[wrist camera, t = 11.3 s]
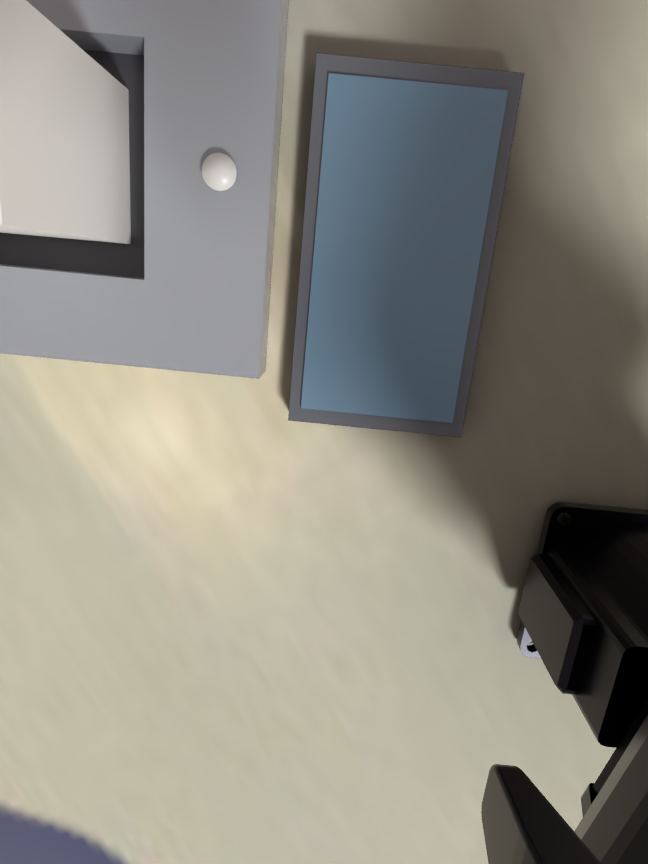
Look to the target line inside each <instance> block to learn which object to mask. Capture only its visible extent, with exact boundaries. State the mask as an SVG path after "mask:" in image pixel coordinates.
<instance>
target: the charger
mask: <svg viewBox="0 0 648 864" xmlns="http://www.w3.org/2000/svg"><path fill="white" fill-rule="evenodd" d="M0 233H10V234H21V235H32V236H43V237H55V238H66V239H77V240H88V241H100V242H111V243H122V244H131V219H130V155H129V91H128V89H127V88H126V87H125V86H124V85H122V84H121V83H120V82H119V81H118V80H117V79H116V78H114V77H113V76H112V75H111V74H110V73H109V72H108V71H106V70H105V69H104V68H103V67H102V66H101V65H100V64H98V63H97V62H96V61H95V60H94V59H93V58H92V57H90V56H89V55H88V54H87V53H86V52H85V51H84V50H82V49H81V48H80V47H79V46H78V45H77V44H76V43H74V42H73V41H72V40H71V39H70V38H69V37H68V36H66V35H65V34H64V33H63V32H62V31H61V30H60V29H58V28H57V27H56V26H55V25H54V24H53V23H52V22H50V21H49V20H48V19H47V18H46V17H45V16H44V15H42V14H41V13H40V12H39V11H38V10H37V9H36V8H34V7H33V6H32V5H31V4H30V3H29V2H28V1H26V0H0Z"/></svg>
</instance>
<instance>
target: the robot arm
mask: <svg viewBox="0 0 648 864" xmlns="http://www.w3.org/2000/svg"><path fill="white" fill-rule="evenodd" d="M561 513H567V516H566V517H565V519H563V520H561V521H557V517H558V516H559V515H560V514H561ZM518 614H519V617H520V618H521V620H522V621H521V625H520V629H519V634H518V638H517V643H518V645H519V648H520V650H521V652H522V653H523V654H524V655H525V656H527V657H531V658H541V659H542V660H543V662H544V664H545V666H546V668H547V670H548V672H549V674H550V676H551V678H552V680H553V681H554V683H555V685H556V686H557V688H558V689H559V690H560V691H561V692H562V693H564V694H572V695H573V697H574V699H575V700H576V702H577V704H578V706H579V708H580V709H581V711H582V713H583V715H584V717H585V718H586V720H587V722H588V724H589V726H590V727H591V729H592V731H593V733H594V735H595V737H596V738H597V740H598V742H599V743H600V744H601V745H603V746H606V747H616V750H615V752H614V753H613V755H612V756H611V758H610V760H609V761H608V763H607V764H606V766H605V768H604V769H603V771H602V772H601V774H600V776H599V777H598V779H597V780H596V782H595V784H594V783H591V784H589V785H588V787H587V789H586V790H585V792H584V794H583V795H582V797H581V803H582V812H583V819H582V820H581V822H580V823H579V825H578V827H577V828H576V830H575V832H574V831H573V830H572V829H571V827H570V826H569V825H568V824H567V823H566V822H565V820H564V819H563V818H562V817H561V816H560V815H559V813H558V812H557V811H556V810H555V809H554V807H553V806H552V805H551V804H550V803H549V802H548V800H547V799H546V798H545V797H544V796H543V795H542V793H541V792H540V791H539V790H538V789H537V787H536V786H535V785H534V784H533V783H532V782H531V780H530V779H529V778H528V777H527V776H526V775H525V773H524V772H523V771H522V770H521V769H519V768H518V767H516V766H509V765H499V764H495V765H493V766H492V767H491V768H490V771H489V775H488V779H487V784H486V788H485V792H484V797H483V801H482V823H483V829H484V836H485V842H486V849H487V855H488V862H489V864H648V511H647V510H637V509H627V508H617V507H607V506H596V505H586V504H576V503H566V502H558V503H555V504H553V505H552V506H550V507H549V508H548V510H547V513H546V516H545V521H544V525H543V529H542V534H541V538H540V542H539V547H538V551H537V553H536V554H535V555H534V556H533V557H532V558H531V559H530V562H529V567H528V571H527V575H526V580H525V584H524V589H523V593H522V597H521V602H520V606H519V611H518ZM532 641H533V643H534V644H533V645H529V646H528V643H530V642H532Z"/></svg>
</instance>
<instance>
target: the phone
mask: <svg viewBox="0 0 648 864" xmlns="http://www.w3.org/2000/svg"><path fill="white" fill-rule="evenodd" d="M523 77H524V73H518V72H507V71H497V70H487V69H476V68H466V67H455V66H445V65H434V64H424V63H414V62H403V61H393V60H382V59H372V58H361V57H351V56H341V55H330V54H320V53H317V55H316V68H315V81H314V94H313V107H312V120H311V133H310V146H309V159H308V172H307V185H306V198H305V211H304V223H303V236H302V249H301V262H300V275H299V288H298V301H297V314H296V327H295V340H294V353H293V366H292V379H291V392H290V405H289V418H288V420H290V421H300V422H310V423H321V424H331V425H341V426H351V427H361V428H371V429H382V430H392V431H402V432H412V433H422V434H433V435H443V436H453V437H461V435H462V429H463V424H464V418H465V412H466V406H467V400H468V395H469V389H470V383H471V377H472V372H473V366H474V360H475V354H476V349H477V343H478V337H479V331H480V325H481V320H482V314H483V308H484V302H485V297H486V291H487V285H488V279H489V274H490V268H491V262H492V256H493V250H494V245H495V239H496V233H497V227H498V222H499V216H500V210H501V204H502V199H503V193H504V187H505V181H506V175H507V170H508V164H509V158H510V152H511V147H512V141H513V135H514V129H515V123H516V118H517V112H518V106H519V100H520V95H521V89H522V83H523Z"/></svg>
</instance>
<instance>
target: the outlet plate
mask: <svg viewBox="0 0 648 864" xmlns="http://www.w3.org/2000/svg"><path fill="white" fill-rule="evenodd" d="M26 1H28V2H29V3H30V4H31V5H32V6H33V7H34V8H36V9H37V10H38V11H39V12H40V13H41V14H42V15H44V16H45V17H46V18H47V19H48V20H49V21H50V22H52V23H53V24H54V25H55V26H56V27H57V28H58V29H60V30H61V31H62V32H63V33H64V34H65V35H66V36H68V37H69V38H70V39H71V40H72V41H73V42H74V43H76V44H77V45H78V46H79V47H80V48H81V49H82V50H84V51H85V52H86V53H87V54H88V55H89V56H90V57H92V58H93V59H94V60H95V61H96V62H97V63H98V64H100V65H101V66H102V67H103V68H104V69H105V70H106V71H108V72H109V73H110V74H111V75H112V76H113V77H114V78H116V79H117V80H118V81H119V82H120V83H121V84H122V85H124V86H125V87H126V88H127V89H128V91H129V155H130V219H131V244H122V243H111V242H100V241H88V240H77V239H66V238H55V237H43V236H32V235H21V234H10V233H0V353H3V354H13V355H23V356H34V357H44V358H54V359H64V360H74V361H85V362H95V363H105V364H115V365H125V366H136V367H146V368H156V369H166V370H177V371H187V372H197V373H207V374H217V375H228V376H238V377H248V378H258V379H259V378H260V377H261V376H262V374H263V373H264V372H265V369H266V353H267V337H268V321H269V305H270V289H271V274H272V258H273V242H274V226H275V210H276V194H277V178H278V162H279V146H280V130H281V115H282V99H283V83H284V67H285V51H286V35H287V19H288V3H289V0H26Z"/></svg>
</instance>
